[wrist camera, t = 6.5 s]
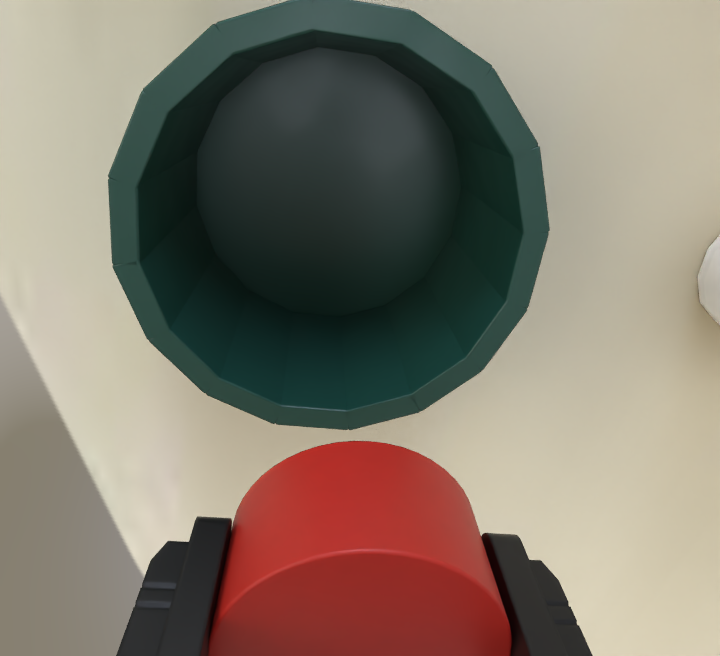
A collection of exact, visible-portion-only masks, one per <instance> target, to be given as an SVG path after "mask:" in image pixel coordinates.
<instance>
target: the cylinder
mask: <svg viewBox="0 0 720 656" xmlns="http://www.w3.org/2000/svg"><path fill="white" fill-rule="evenodd" d="M511 644H512V637H511V629H510V624H509V621H508V618H507V615H506V612H505V609H504V606H503V603H502V600H501V597H500V593H499V590H498V587H497V584H496V581H495V578H494V575H493V572H492V569H491V566H490V563H489V560H488V557H487V554H486V550H485V547H484V544H483V541H482V538H481V535H480V532H479V529H478V526H477V523H476V520H475V517H474V514H473V511H472V508H471V505H470V502H469V500H468V498H467V496H466V494H465V492H464V490H463V489H462V488H461V486H460V485H459V484H458V482H457V481H456V480H455V479H454V478H453V477H452V476H451V475H450V474H449V473H448V472H447V471H446V470H445V469H444V468H442V467H441V466H439V465H438V464H436V463H435V462H434V461H432V460H431V459H429V458H427V457H425V456H423V455H421V454H419V453H417V452H414V451H411V450H409V449H406V448H403V447H399V446H395V445H391V444H387V443H379V442H371V441H348V442H337V443H331V444H326V445H321V446H317V447H314V448H311V449H308V450H305V451H302V452H300V453H298V454H295V455H293V456H291V457H289V458H287V459H285V460H283V461H282V462H280V463H278V464H277V465H275V466H274V467H272V468H271V469H270V470H269V471H267V472H266V473H265V474H264V475H262V476H261V477H260V478H259V479H258V480H257V481H256V482H255V484H254V485H253V486H252V487H251V488H250V489H249V491H248V492H247V493H246V495H245V496H244V498H243V499H242V501H241V503H240V505H239V507H238V509H237V512H236V515H235V518H234V522H233V526H232V531H231V537H230V541H229V546H228V551H227V556H226V560H225V565H224V570H223V575H222V579H221V584H220V589H219V594H218V598H217V603H216V608H215V613H214V617H213V622H212V627H211V632H210V636H209V648H208V656H510V655H511Z"/></svg>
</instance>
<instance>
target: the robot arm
mask: <svg viewBox="0 0 720 656" xmlns="http://www.w3.org/2000/svg"><path fill="white" fill-rule="evenodd" d="M231 530H232V520H231V518H214V517H197V518H196V520H195V523H194V527H193V530H192V533H191V537H190V540H189V542H177V541H168V542H167V543H166V544H165V545H164V546H163V547H162V548H161V550H160V551H159V552H158V553H157V554H156V555H155V556H154V557H153V558H152V560H151V561H150V564H149V567H148V570H147V572H146V575H145V578H144V581H143V584H142V588H141V589H140V592H139V595H138V597H137V600H136V605H135V607H134V608H133V611H132V614H131V617H130V619H129V622H128V625H127V628H126V630H125V633H124V636H123V639H122V642H121V644H120V647H119V650H118V653H117V655H116V656H208V648H209V636H210V632H211V627H212V622H213V617H214V613H215V608H216V603H217V598H218V594H219V589H220V584H221V579H222V575H223V570H224V565H225V560H226V556H227V551H228V546H229V541H230V537H231ZM481 538H482V541H483V544H484V547H485V550H486V554H487V557H488V560H489V563H490V566H491V569H492V572H493V575H494V578H495V581H496V584H497V587H498V590H499V593H500V597H501V600H502V603H503V606H504V609H505V612H506V615H507V618H508V621H509V624H510V629H511V637H512V644H511V655H510V656H592V654H591V651H590V649H589V647H588V645H587V642H586V640H585V638H584V636H583V634H582V631H581V629H580V627H579V625H577V623H576V622H577V620H576V618H575V616H574V614H573V611H572V609H571V607H569V606H568V600H567V598H566V596H565V594H564V591H563V589H562V587H561V585H560V583H559V580H558V579H557V578H556V577H555V576H554V575H553V574H552V572H551V571H550V570H549V569H548V568H547V567H546V566H545V565H544V563H543V562H542V561H540V560H529V559H528V556H527V554H526V551H525V549H524V546H523V544H522V542H521V540H520V538H519V537H518V536H517V535H511V534H493V533H484V534H483V535H482V536H481Z"/></svg>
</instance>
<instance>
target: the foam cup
mask: <svg viewBox="0 0 720 656" xmlns="http://www.w3.org/2000/svg"><path fill="white" fill-rule="evenodd" d="M697 278H698V288H699V299H700V303H701V304H702V306H703V307H704V308H705V309H706V311H707V312H708V313H709V314H710V316H711V317H712V318H713V319H714V321H716V322H717V323H718V324H719V325H720V235H719V236H718V237H717V239H716V240H715V241H714V242H713V243H712V244H711V245H710V247H709V248H708V250H707V252H706V255H705V258H704V260H703V263H702V266H701V268H700V271H699V274H698V276H697Z"/></svg>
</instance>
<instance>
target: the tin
mask: <svg viewBox="0 0 720 656" xmlns="http://www.w3.org/2000/svg"><path fill="white" fill-rule="evenodd" d="M108 177H109V179H108V187H109V208H110V229H111V250H112V263H113V264H114V265H113V269H114V271H115V273H116V275H117V277H118V279H119V281H120V283H121V285H122V288H123V290H124V292H125V294H126V296H127V298H128V300H129V302H130V304H131V306H132V308H133V311H134V313H135V315H136V317H137V319H138V321H139V323H140V325H141V327H142V329H143V331H144V334H145V336H146V338H147V339H148V340H149V341H150V342H151V343H152V344H153V345H154V346H155V347H156V348H157V349H158V350H159V351H160V352H161V353H162V354H163V355H164V356H165V357H166V358H167V359H169V360H170V361H171V362H172V363H173V364H174V365H175V366H176V367H177V368H178V369H179V370H180V371H181V372H182V373H183V374H184V375H185V376H187V377H188V378H189V379H190V380H191V381H192V382H193V383H194V384H195V385H196V386H197V387H198V388H199V389H200V390H201V391H202V392H204V393H206V394H207V395H208V396H210V397H213V398H215V399H217V400H220V401H222V402H224V403H227V404H229V405H231V406H233V407H236V408H238V409H240V410H243V411H245V412H247V413H250V414H252V415H254V416H256V417H259V418H261V419H263V420H266V421H268V422H270V423H273V424H275V423H276V424H277V425H289V426H302V427H315V428H328V429H341V430H348V429H349V430H353V429H357V428H360V427H364V426H368V425H372V424H376V423H380V422H384V421H388V420H392V419H395V418H399V417H403V416H407V415H411V414H415V413H419V412H420V411H423V410H424V409H426V408H427V407H429V406H430V405H432V404H433V403H435V402H436V401H438V400H439V399H441V398H442V397H444V396H445V395H447V394H448V393H450V392H451V391H453V390H454V389H456V388H457V387H459V386H460V385H462V384H463V383H465V382H466V381H468V380H469V379H471V378H472V377H474V376H475V375H477V374H478V373H480V372H481V370H483V369H484V368H485V367H486V365H487V364H488V362H489V361H490V360H491V358H492V357H493V356H494V354H495V353H496V352H497V350H498V349H499V348H500V346H501V345H502V344H503V342H504V341H505V340H506V338H507V337H508V336H509V334H510V333H511V331H512V330H513V329H514V327H515V326H516V325H517V323H518V322H519V321H520V319H521V318H522V317H523V315H524V314H525V313H526V311H527V308H528V306H529V303H530V299H531V295H532V292H533V288H534V285H535V281H536V277H537V274H538V270H539V267H540V263H541V259H542V256H543V252H544V249H545V245H546V241H547V238H548V231H549V230H550V228H549V220H548V212H547V203H546V195H545V187H544V178H543V170H542V161H541V153H540V147H539V146H538V143H537V141H536V139H535V137H534V136H533V134H532V132H531V131H530V129H529V127H528V126H527V124H526V122H525V120H524V119H523V117H522V115H521V114H520V112H519V110H518V109H517V107H516V105H515V103H514V102H513V100H512V98H511V97H510V95H509V93H508V92H507V90H506V88H505V86H504V85H503V83H502V81H501V80H500V78H499V76H498V75H497V73H496V71H495V69H493V68H492V65H491V64H489V63H488V62H486V61H485V60H483V59H482V58H481V57H479V56H478V55H476V54H475V53H473V52H472V51H471V50H469V49H468V48H466V47H465V46H463V45H462V44H460V43H459V42H458V41H456V40H455V39H453V38H452V37H450V36H449V35H448V34H446V33H445V32H443V31H442V30H440V29H439V28H437V27H436V26H435V25H433V24H432V23H430V22H429V21H427V20H426V19H425V18H423V17H422V16H420V15H419V14H417V13H416V12H414V11H412V10H409V9H403V8H397V7H391V6H385V5H379V4H373V3H367V2H360V1H354V0H289V1H286V2H283V3H279V4H276V5H273V6H269V7H266V8H263V9H259V10H256V11H253V12H249V13H246V14H243V15H239V16H236V17H233V18H229V19H226V20H223V21H219V22H217V23H216V24H213V25H211V26H210V27H209V28H208V29H207V30H206V31H205V32H204V33H203V34H202V35H201V36H200V37H199V38H197V39H196V40H195V41H194V42H193V43H192V44H191V45H190V46H189V47H188V48H187V49H186V50H185V51H183V52H182V53H181V54H180V55H179V56H178V57H177V58H176V59H175V60H174V61H173V62H172V63H170V64H169V65H168V66H167V67H166V68H165V69H164V70H163V71H162V72H161V73H160V74H159V75H158V76H156V77H155V78H154V79H153V80H152V81H151V82H150V83H149V84H148V85H147V86H146V87H145V88H143V91H142V92H141V94H140V96H139V99H138V101H137V104H136V106H135V109H134V112H133V114H132V117H131V119H130V122H129V124H128V127H127V129H126V132H125V134H124V137H123V139H122V142H121V144H120V147H119V149H118V152H117V154H116V157H115V159H114V162H113V165H112V167H111V170H110V172H109V175H108Z"/></svg>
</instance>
